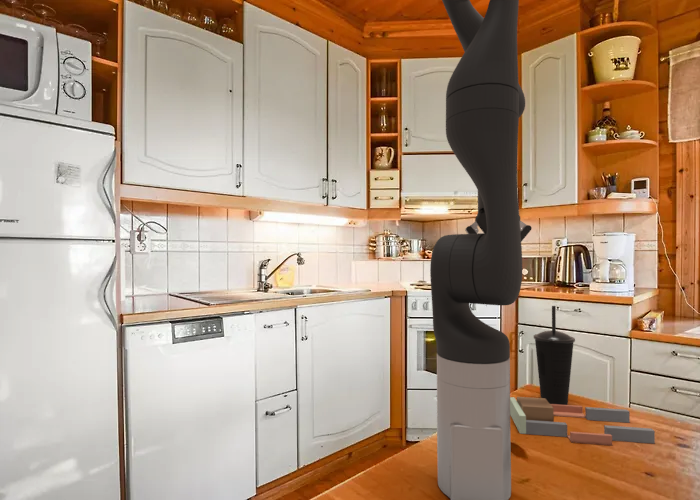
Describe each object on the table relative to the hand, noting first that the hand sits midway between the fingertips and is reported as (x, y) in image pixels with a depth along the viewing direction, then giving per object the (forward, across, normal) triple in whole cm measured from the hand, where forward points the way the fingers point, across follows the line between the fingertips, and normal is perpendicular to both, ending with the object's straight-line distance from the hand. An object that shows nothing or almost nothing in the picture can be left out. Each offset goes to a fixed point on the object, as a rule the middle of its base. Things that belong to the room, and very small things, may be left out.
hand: (497, 272), depth 82 cm
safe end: (+27, +2, -7) cm, 28 cm away
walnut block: (+27, +5, -7) cm, 28 cm away
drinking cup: (+27, +12, +4) cm, 30 cm away
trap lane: (+27, +12, -7) cm, 30 cm away
